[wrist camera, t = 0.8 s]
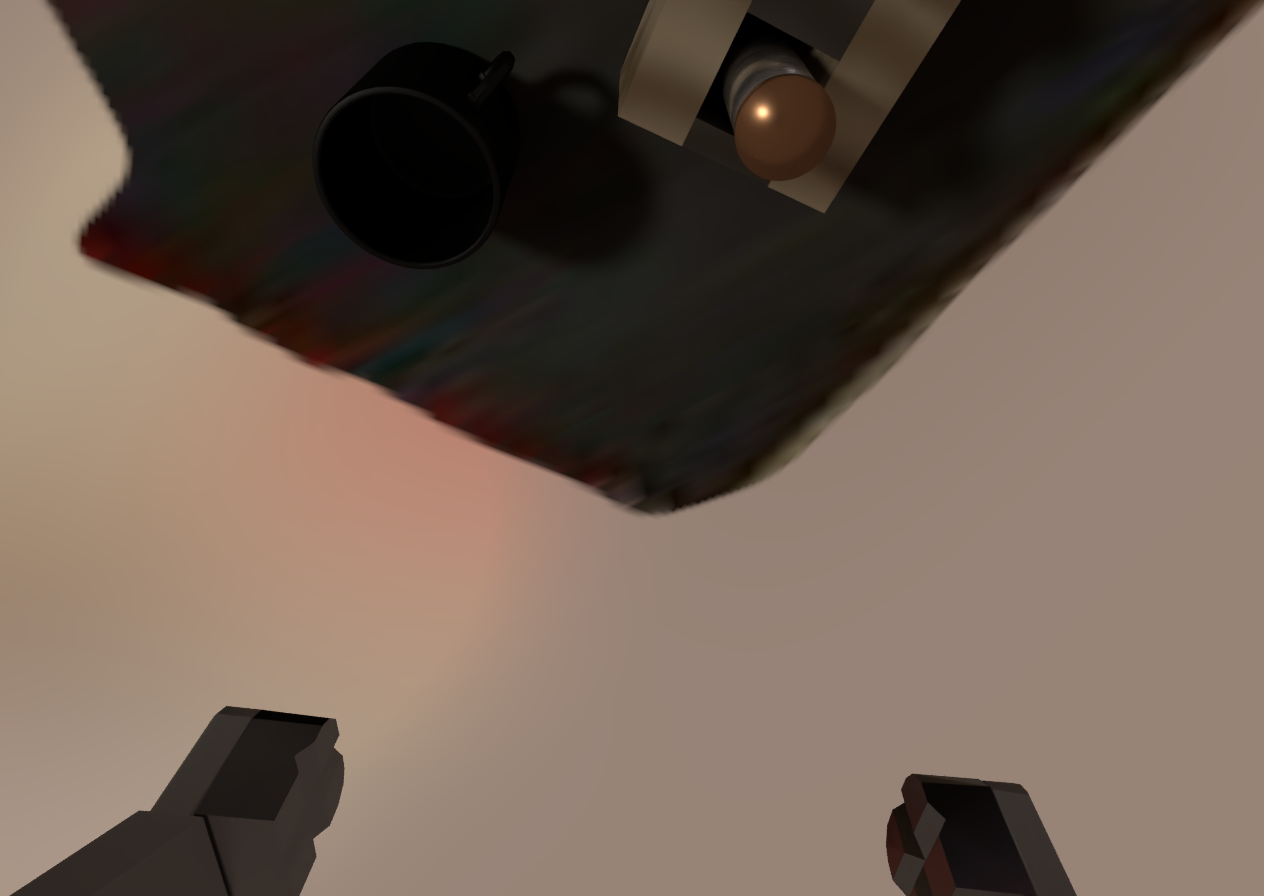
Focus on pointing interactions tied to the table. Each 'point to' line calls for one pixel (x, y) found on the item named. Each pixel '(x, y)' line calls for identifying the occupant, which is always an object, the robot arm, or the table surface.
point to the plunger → (776, 110)
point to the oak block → (829, 48)
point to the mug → (420, 155)
